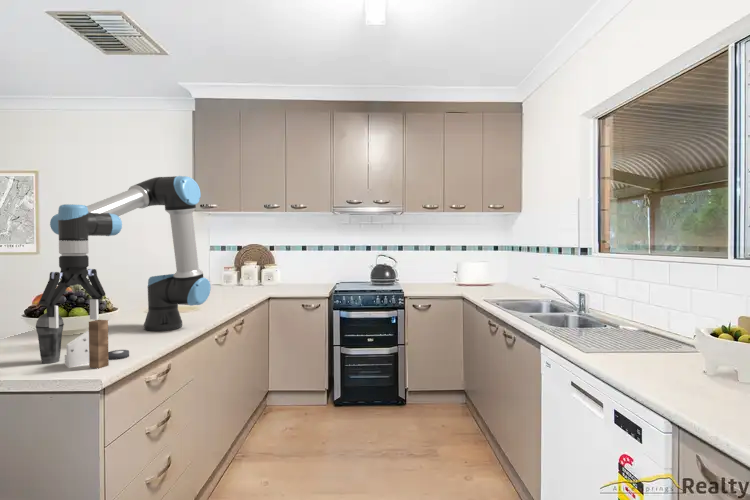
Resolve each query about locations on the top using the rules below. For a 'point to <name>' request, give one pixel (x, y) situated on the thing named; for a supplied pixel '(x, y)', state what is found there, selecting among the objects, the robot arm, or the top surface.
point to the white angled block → (78, 351)
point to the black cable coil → (118, 354)
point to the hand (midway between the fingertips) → (75, 323)
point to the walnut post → (98, 344)
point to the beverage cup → (49, 339)
